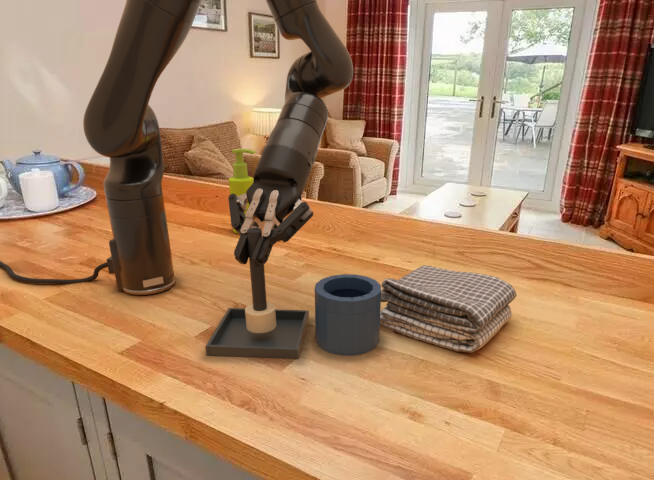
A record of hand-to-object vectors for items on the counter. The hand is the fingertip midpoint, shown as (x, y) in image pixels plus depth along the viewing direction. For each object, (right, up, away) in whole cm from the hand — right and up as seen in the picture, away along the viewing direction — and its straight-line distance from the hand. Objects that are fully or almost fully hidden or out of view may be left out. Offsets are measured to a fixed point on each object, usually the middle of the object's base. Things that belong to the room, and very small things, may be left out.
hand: (248, 262), depth 67 cm
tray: (+1, -11, +7) cm, 13 cm away
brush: (+1, -9, +6) cm, 11 cm away
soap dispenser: (-12, +10, +56) cm, 58 cm away
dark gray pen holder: (+14, -12, +6) cm, 19 cm away
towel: (+29, -9, +12) cm, 33 cm away
